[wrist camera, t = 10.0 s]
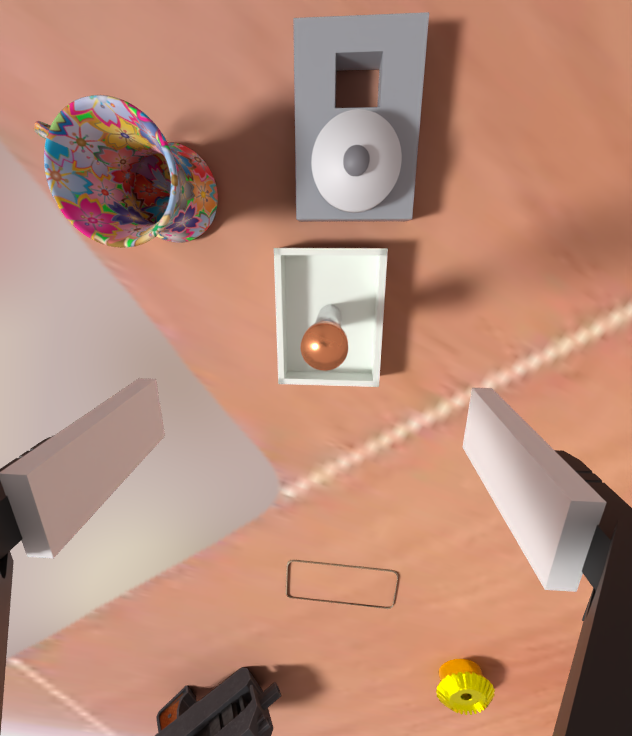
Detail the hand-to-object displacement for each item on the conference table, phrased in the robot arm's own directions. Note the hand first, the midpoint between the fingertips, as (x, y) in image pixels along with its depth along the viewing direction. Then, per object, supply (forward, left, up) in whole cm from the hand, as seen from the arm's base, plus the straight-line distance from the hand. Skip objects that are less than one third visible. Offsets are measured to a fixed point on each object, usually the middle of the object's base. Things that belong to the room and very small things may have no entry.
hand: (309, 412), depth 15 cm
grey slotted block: (-16, +2, -23) cm, 28 cm away
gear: (+53, +20, -24) cm, 62 cm away
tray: (0, 0, -23) cm, 23 cm away
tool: (+60, -16, -24) cm, 67 cm away
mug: (-12, -16, -24) cm, 31 cm away
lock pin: (0, 0, -23) cm, 23 cm away
